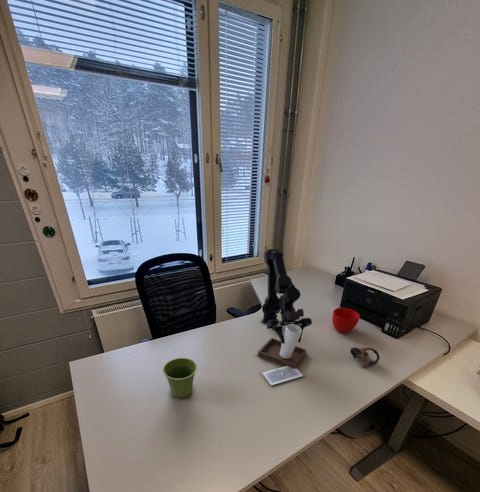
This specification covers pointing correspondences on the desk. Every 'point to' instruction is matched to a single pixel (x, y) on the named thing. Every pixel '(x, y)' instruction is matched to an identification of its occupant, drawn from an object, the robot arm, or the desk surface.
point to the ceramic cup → (345, 319)
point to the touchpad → (281, 374)
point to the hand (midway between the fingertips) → (291, 342)
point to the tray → (273, 354)
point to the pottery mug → (364, 355)
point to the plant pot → (180, 376)
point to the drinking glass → (290, 340)
